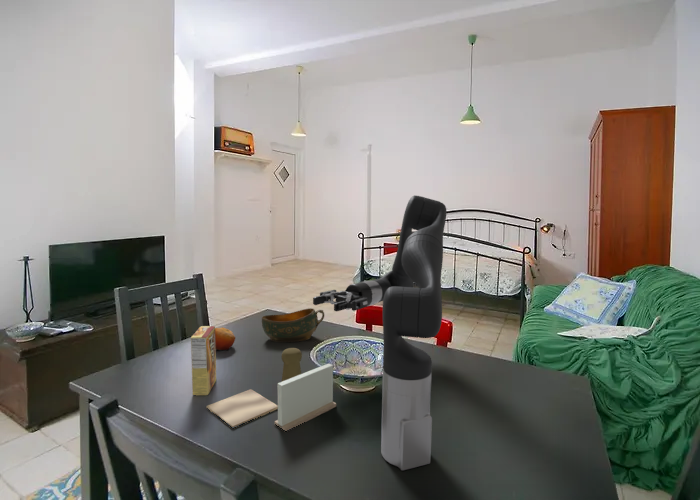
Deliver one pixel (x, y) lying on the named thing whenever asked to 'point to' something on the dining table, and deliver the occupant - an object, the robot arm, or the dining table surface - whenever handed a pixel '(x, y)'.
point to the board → (242, 407)
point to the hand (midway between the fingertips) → (324, 304)
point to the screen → (305, 397)
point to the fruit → (224, 338)
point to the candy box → (203, 360)
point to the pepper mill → (291, 363)
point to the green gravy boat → (291, 325)
